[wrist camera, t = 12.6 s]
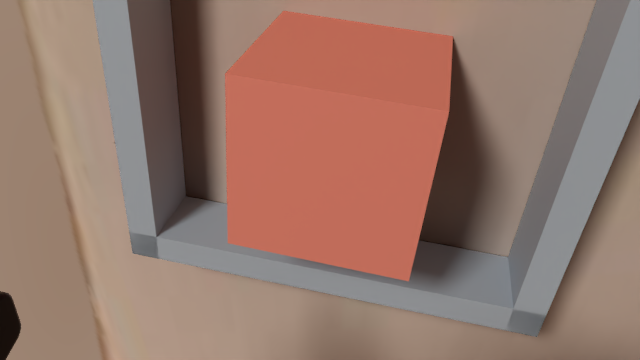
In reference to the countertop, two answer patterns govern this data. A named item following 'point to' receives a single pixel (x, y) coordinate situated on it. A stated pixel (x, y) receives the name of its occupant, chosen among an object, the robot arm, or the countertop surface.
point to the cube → (335, 141)
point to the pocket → (430, 258)
